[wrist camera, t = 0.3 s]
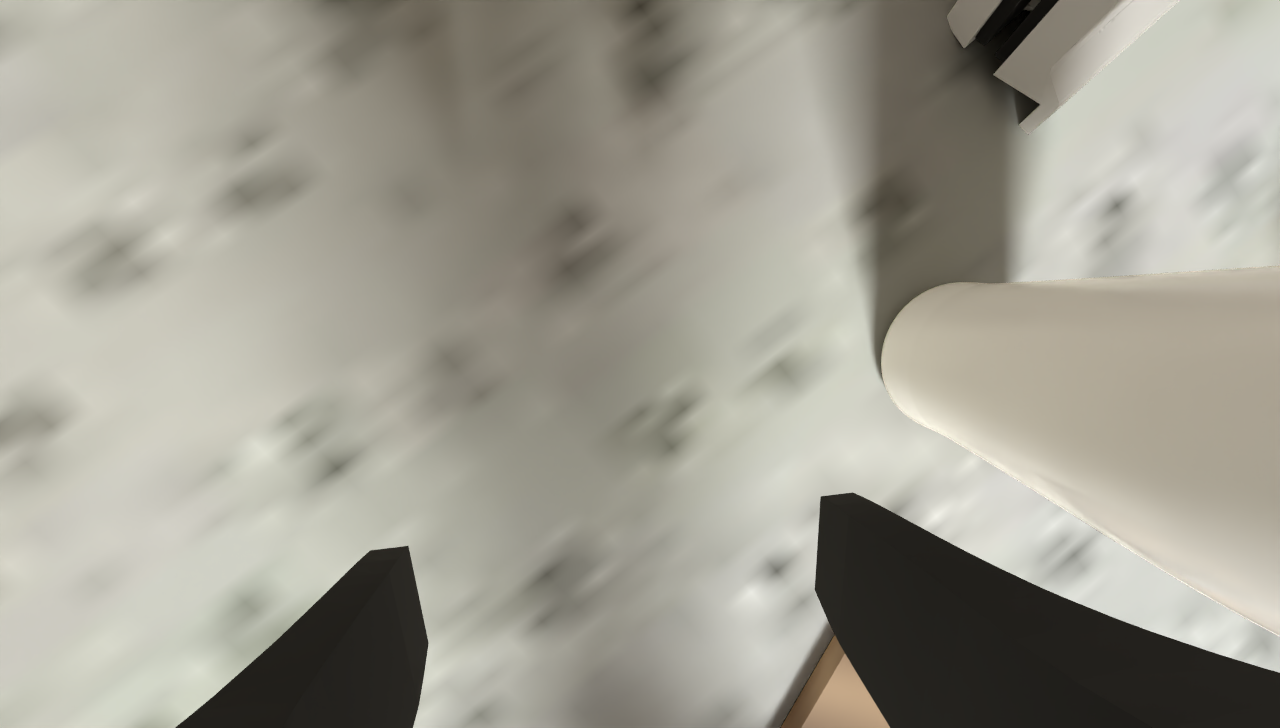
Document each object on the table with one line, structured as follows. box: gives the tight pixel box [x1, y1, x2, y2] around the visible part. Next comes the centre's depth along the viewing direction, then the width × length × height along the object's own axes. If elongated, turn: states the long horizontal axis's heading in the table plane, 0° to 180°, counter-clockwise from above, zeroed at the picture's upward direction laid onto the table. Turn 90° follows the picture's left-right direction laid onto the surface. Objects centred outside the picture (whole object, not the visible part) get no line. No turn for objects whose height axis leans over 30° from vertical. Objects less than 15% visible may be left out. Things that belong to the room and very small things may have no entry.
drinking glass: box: [881, 266, 1280, 637], centre depth 14 cm, size 7×7×15 cm
